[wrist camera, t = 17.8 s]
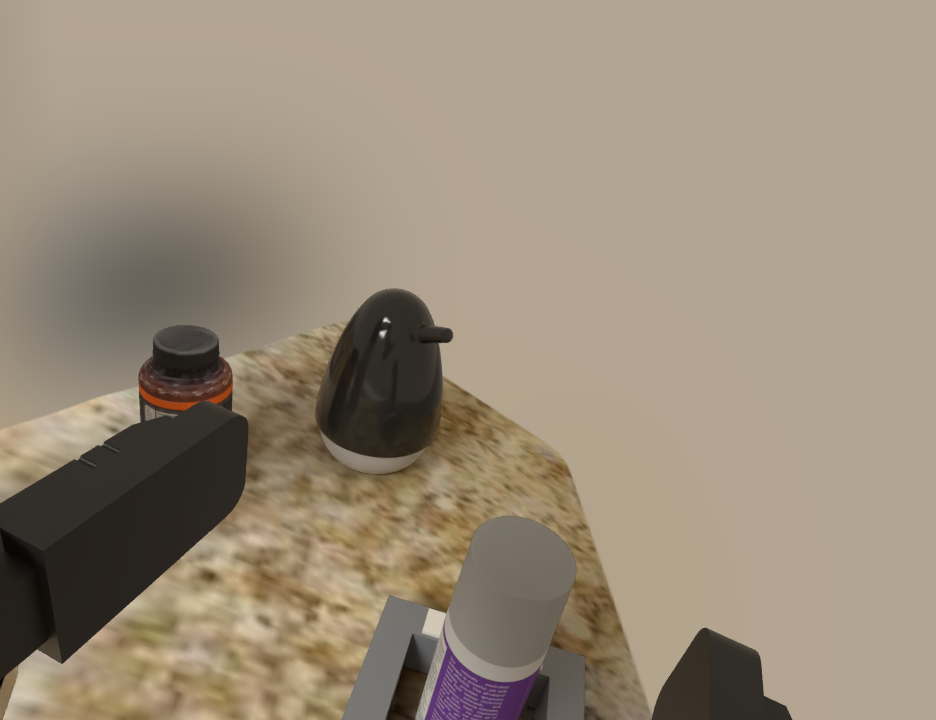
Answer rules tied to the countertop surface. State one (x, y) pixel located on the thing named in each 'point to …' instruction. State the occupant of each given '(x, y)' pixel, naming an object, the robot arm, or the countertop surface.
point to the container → (498, 622)
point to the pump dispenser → (383, 385)
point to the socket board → (413, 646)
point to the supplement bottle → (183, 373)
